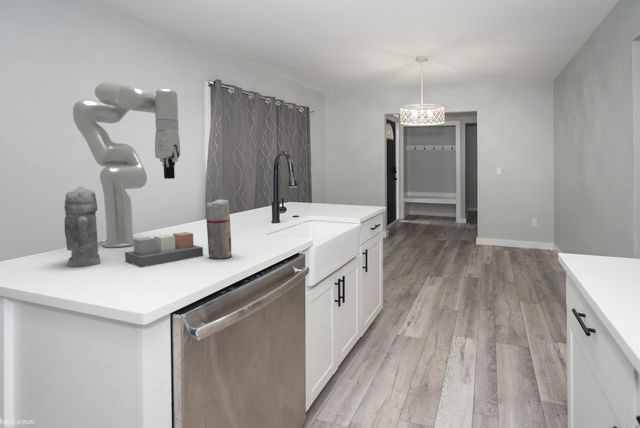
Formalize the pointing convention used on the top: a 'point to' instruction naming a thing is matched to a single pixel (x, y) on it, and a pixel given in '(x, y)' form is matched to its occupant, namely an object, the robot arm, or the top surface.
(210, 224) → the spray can
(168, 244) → the ivory key
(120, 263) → the top surface
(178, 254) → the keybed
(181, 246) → the terracotta key
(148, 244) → the slate key
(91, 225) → the figurine
